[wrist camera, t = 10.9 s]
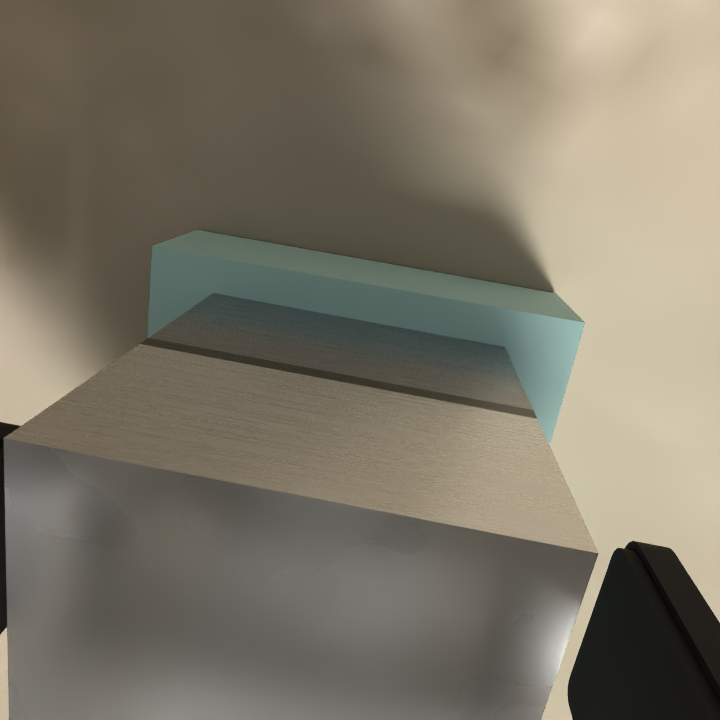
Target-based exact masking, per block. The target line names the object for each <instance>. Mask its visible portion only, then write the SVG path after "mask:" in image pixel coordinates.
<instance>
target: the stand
mask: <svg viewBox="0 0 720 720" xmlns="http://www.w3.org/2000/svg"><path fill="white" fill-rule="evenodd" d="M212 293H217V294H222V295H227V296H233V297H238V298H244V299H249V300H254V301H260V302H265V303H271V304H276V305H281V306H287V307H292V308H298V309H303V310H308V311H314V312H319V313H325V314H330V315H335V316H341V317H346V318H352V319H357V320H362V321H368V322H373V323H378V324H384V325H389V326H395V327H400V328H405V329H411V330H416V331H422V332H427V333H432V334H438V335H443V336H449V337H454V338H459V339H465V340H470V341H476V342H481V343H486V344H492V345H497V346H503V347H505V348H506V351H507V353H508V355H509V357H510V359H511V362H512V364H513V366H514V368H515V370H516V373H517V375H518V377H519V379H520V381H521V384H522V386H523V388H524V390H525V392H526V395H527V397H528V399H529V401H530V404H531V406H532V408H533V410H534V412H535V415H536V417H537V419H538V421H539V423H540V426H541V428H542V430H543V432H544V434H545V437H546V439H547V441H548V443H549V445H550V442H551V439H552V435H553V432H554V428H555V425H556V421H557V418H558V414H559V411H560V408H561V404H562V401H563V397H564V394H565V390H566V387H567V383H568V380H569V376H570V373H571V370H572V366H573V363H574V359H575V356H576V352H577V349H578V345H579V342H580V338H581V335H582V332H583V328H584V325H585V322H584V321H583V320H582V319H581V318H580V317H579V316H578V315H577V314H576V313H575V312H574V311H573V310H572V309H571V308H570V307H569V306H568V305H567V304H566V303H565V302H564V301H563V300H562V299H561V298H560V297H559V296H558V295H557V294H556V293H552V292H546V291H540V290H535V289H529V288H523V287H518V286H512V285H506V284H501V283H495V282H489V281H484V280H478V279H473V278H467V277H461V276H456V275H450V274H444V273H439V272H433V271H427V270H422V269H416V268H410V267H405V266H399V265H393V264H388V263H382V262H376V261H371V260H365V259H360V258H354V257H348V256H343V255H337V254H331V253H326V252H320V251H314V250H309V249H303V248H297V247H292V246H286V245H280V244H275V243H269V242H263V241H258V240H252V239H246V238H241V237H235V236H230V235H224V234H218V233H213V232H207V231H201V230H195V231H192V232H189V233H186V234H184V235H181V236H178V237H175V238H172V239H169V240H167V241H164V242H161V243H158V244H155V245H152V256H151V275H150V293H149V312H148V331H147V338H149V337H150V336H152V335H153V334H155V333H156V332H158V331H159V330H160V329H162V328H163V327H165V326H166V325H168V324H169V323H171V322H172V321H173V320H175V319H176V318H178V317H179V316H181V315H182V314H184V313H185V312H186V311H188V310H189V309H191V308H192V307H194V306H195V305H197V304H198V303H199V302H201V301H202V300H204V299H205V298H207V297H208V296H210V295H211V294H212Z"/></svg>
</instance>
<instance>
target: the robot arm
mask: <svg viewBox="0 0 720 720" xmlns="http://www.w3.org/2000/svg"><path fill="white" fill-rule="evenodd" d="M19 427H20V426H18V425H13V424H7V423H2V422H0V634H1V633H2V632H3V631H4V629H5V628H6V627H7V586H6V536H5V486H4V438H5V437H6V436H7V435H9V434H10V433H12V432H13V431H15V430H16V429H18V428H19ZM568 702H569V707H570V710H571V714H572V718H573V720H720V623H719V621H718V620H717V618H716V616H715V615H714V613H713V612H712V610H711V609H710V607H709V606H708V604H707V602H706V601H705V599H704V598H703V596H702V595H701V593H700V592H699V590H698V588H697V587H696V585H695V584H694V582H693V581H692V579H691V578H690V576H689V575H688V573H687V571H686V570H685V568H684V567H683V565H682V564H681V562H680V561H679V559H678V557H677V556H676V554H675V553H674V552H673V551H672V550H671V549H670V548H667V547H662V546H657V545H651V544H646V543H641V542H635V541H632V542H629V543H628V545H627V546H626V547H625V549H622V548H617V549H616V550H615V551H614V553H613V555H612V557H611V560H610V563H609V566H608V569H607V572H606V575H605V578H604V580H603V583H602V586H601V589H600V592H599V595H598V598H597V601H596V603H595V606H594V609H593V612H592V615H591V618H590V621H589V624H588V626H587V629H586V632H585V635H584V638H583V641H582V644H581V647H580V649H579V652H578V655H577V658H576V661H575V664H574V667H573V670H572V672H571V675H570V679H569V683H568Z"/></svg>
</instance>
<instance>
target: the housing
mask: <svg viewBox="0 0 720 720" xmlns="http://www.w3.org/2000/svg"><path fill="white" fill-rule="evenodd" d="M4 486H5V536H6V586H7V637H8V687H9V720H541V718H542V715H543V712H544V709H545V707H546V704H547V701H548V698H549V695H550V692H551V689H552V686H553V683H554V681H555V678H556V675H557V672H558V669H559V666H560V663H561V660H562V657H563V654H564V652H565V649H566V646H567V643H568V640H569V637H570V634H571V631H572V628H573V626H574V623H575V620H576V617H577V614H578V611H579V608H580V605H581V602H582V599H583V597H584V594H585V591H586V588H587V585H588V582H589V579H590V576H591V573H592V571H593V568H594V565H595V562H596V559H597V556H598V551H597V549H596V547H595V545H594V543H593V540H592V538H591V536H590V534H589V532H588V529H587V527H586V525H585V523H584V520H583V518H582V516H581V514H580V512H579V509H578V507H577V505H576V503H575V501H574V498H573V496H572V494H571V492H570V490H569V487H568V485H567V483H566V481H565V479H564V476H563V474H562V472H561V470H560V468H559V465H558V463H557V461H556V459H555V456H554V454H553V452H552V450H551V448H550V445H549V443H548V441H547V439H546V437H545V434H544V432H543V430H542V428H541V426H540V423H539V421H538V419H537V417H536V415H535V412H534V410H533V408H532V406H531V404H530V401H529V399H528V397H527V395H526V392H525V390H524V388H523V386H522V384H521V381H520V379H519V377H518V375H517V373H516V370H515V368H514V366H513V364H512V362H511V359H510V357H509V355H508V353H507V351H506V348H505V347H503V346H497V345H492V344H486V343H481V342H476V341H470V340H465V339H459V338H454V337H449V336H443V335H438V334H432V333H427V332H422V331H416V330H411V329H405V328H400V327H395V326H389V325H384V324H378V323H373V322H368V321H362V320H357V319H352V318H346V317H341V316H335V315H330V314H325V313H319V312H314V311H308V310H303V309H298V308H292V307H287V306H281V305H276V304H271V303H265V302H260V301H254V300H249V299H244V298H238V297H233V296H227V295H222V294H217V293H212V294H211V295H210V296H208V297H207V298H205V299H204V300H202V301H201V302H199V303H198V304H197V305H195V306H194V307H192V308H191V309H189V310H188V311H186V312H185V313H184V314H182V315H181V316H179V317H178V318H176V319H175V320H173V321H172V322H171V323H169V324H168V325H166V326H165V327H163V328H162V329H160V330H159V331H158V332H156V333H155V334H153V335H152V336H150V337H149V338H147V339H146V340H145V341H143V342H142V343H140V344H139V345H137V346H136V347H134V348H133V349H132V350H130V351H129V352H127V353H126V354H124V355H123V356H121V357H120V358H119V359H117V360H116V361H114V362H113V363H111V364H110V365H109V366H107V367H106V368H104V369H103V370H101V371H100V372H98V373H97V374H96V375H94V376H93V377H91V378H90V379H88V380H87V381H85V382H84V383H83V384H81V385H80V386H78V387H77V388H75V389H74V390H72V391H71V392H70V393H68V394H67V395H65V396H64V397H62V398H61V399H59V400H58V401H57V402H55V403H54V404H52V405H51V406H49V407H48V408H46V409H45V410H44V411H42V412H41V413H39V414H38V415H36V416H35V417H33V418H32V419H31V420H29V421H28V422H26V423H25V424H23V425H22V426H20V427H19V428H18V429H16V430H15V431H13V432H12V433H10V434H9V435H7V436H6V437H5V438H4Z"/></svg>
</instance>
